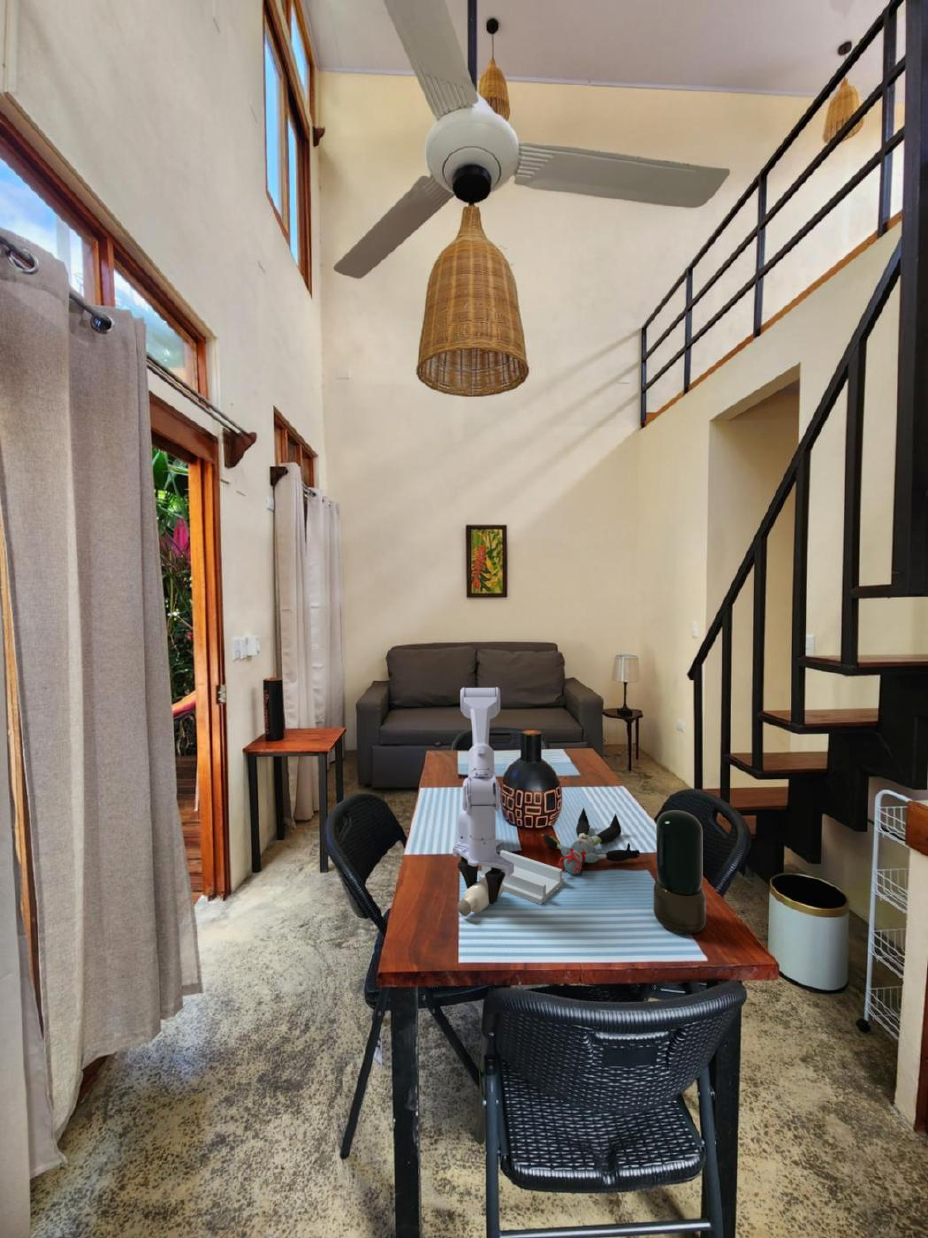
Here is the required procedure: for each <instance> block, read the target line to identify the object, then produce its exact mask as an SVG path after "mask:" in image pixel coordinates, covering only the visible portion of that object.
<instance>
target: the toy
mask: <svg viewBox="0 0 928 1238" xmlns="http://www.w3.org/2000/svg"><path fill="white" fill-rule="evenodd" d="M590 829H591V826H590V822H589V819H588V816H587V813H586V810H585V807H582V810H581V812H580V815H579V817H578V820H577V825H576V827H575V833H576V836H577V840H576V841H574V842H573V843H572V844H571V846H570V847H568V846H563V845H562V844H561V842H560V841H559V840H558V838H556V837H555V836H554V835H552V834H548V833H546V834H541V833H540V835H541V837H542V839H543V841H544V843H545V844H546V845H547V846H549V847H550V848H552V849H558V850H560V853H561V855H562V856H563V857H560V859H559V862H558V864H557V868H559V869H562V872H564V871H565V870H566V872H568V873H569V874H571V875H577V874H579V873H580V876H583V875H582V874H583V868H584V865H585V863H592V864H593V863H596V862H597V861H598V860H601V859H606V860H608V861H610V862H616V863H617V862H625V861H627V860H629V859H632V860H633V859H638V858H640V854H641V852H640V850H639V849H633V850H631V844H630V843H629V842H628V843H627V845H626V849H613V850H607V852H605V853H602V854H601V853H600V854H597V853H595V852H594V851H595V848H596V846H598V845H599V844H600V845H601V844H602V845H604V844H608V843H613V842H614V841H615V840H617V838H619V837H621V834H622V826H621V824H620V821H619V818H618V816H617V813H614V816H613V819H612V821H611V822H610V825H609V826H608V827H606V828H605V829H603V830H602V831H600V832H599V833H597V834H595V835H594V836H593V835H592V836H590V835H589V832H590ZM562 860H563V863H561V862H562Z"/></svg>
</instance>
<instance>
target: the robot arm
mask: <svg viewBox="0 0 928 1238" xmlns="http://www.w3.org/2000/svg"><path fill="white" fill-rule="evenodd" d="M459 696H460V700H459V701H460V712H461V713H462V715H463V716H464V718H467V719H470V721H471V730H472V746H471V748H470V749H469V750H468V753H467V754H468V762H467V763H468V765H467V766H468V769H467V771H468V774H467V776H468V777H466V778H464V780H463V782H462V794H461V795H462V799H461V801H462V804H461V805H462V810H461V811H460V812H459V816H458V821H457V822H458V823H457V826H458V827H457V829H458V830H457V831H458V833H457V836H458V837H457V839H458V841H457V842H456V844H455V846H453V847H452V857H454V858H458V857H460V858H461V859H460V861H459V862H458V863H457V869H458V870H459V871H460V873H461V876H462V877H463V879H464V883H465V887H466V890H467V889H469V888H470V887H471V886H473V885H474V884H475V883H477V882H478V875H479V874H478V873H479V866H481V867H482V866H486V867H490V868H491V870H490V871H488V872H487V873H485V877H486V880H487V885H488V897H489V905H491V906H492V905H494V904H495V903H497V902H498V898H499V897H498V894H499V890H500V887H501V884H502V881H503V879H504V877H505V875H507V876H510V875H511V874H512V873H514V863H512V862H510V861H508V860H506V859H505V858H503V857H502V856H500V853H497V850H496V849H497V847H498V846H500V845H501V844H502V841H501V840H499V839H497V838H496V836H497V835H496V834H497V831H496V830H497V829H496V826H497V825H496V823H497V822H496V819H497V817H496V812H499V810H500V809H501V799H500V798H501V797H500V796H501V793H500V784H499V783H500V782H499V781H498V779H497V776H496V772H495V751H494V749H493V748H492V747H491V746H490V745H489V742H490V741H489V740H490V724H491V723H490V722H491V720H492V719H494V718H496V717H497V716H498V714H499V713H500V712H501V690H500V688H499V687H497V686H495V687H462V688H461V689H460V694H459Z"/></svg>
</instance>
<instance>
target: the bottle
mask: <svg viewBox="0 0 928 1238" xmlns="http://www.w3.org/2000/svg"><path fill="white" fill-rule="evenodd" d="M504 892H505V891H504V884H503V881H502V884H501V887H500V890H499V894H498V898H499V897H500V896H501V895H502V894H503V893H504ZM489 905H490V904H489V897H488V885H487V880H486V877H484V878H482V879H481V880H480V881H479V880H477V883H475V884H474V885H473V886H471V887H470V888H469V889H467V888H466V890H464V893H463V898H462V899H461V900H459V901H458V902H457V906H456V907H457V911H458V912H459V914H460V915H461V916H463V917H468V916H469V915H470V914H471V913H474V914H478V913H481V912H482V911H483V910H484V909H485V908H487V907H488V906H489Z"/></svg>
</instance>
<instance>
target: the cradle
mask: <svg viewBox="0 0 928 1238" xmlns="http://www.w3.org/2000/svg"><path fill="white" fill-rule="evenodd" d="M499 855H500V856H502V857H503V858H505V859H506V860H508V861H510V862H512V863H514V873H512V874H511V875H510V876H507V875H505V877H504V879H503V884H504V891H503V892H505V891H506V892H505V893H508V894H510V895H514V896H516V895H517V896H516V897H518V896H519V898H521V899H523V898H524V900H526V901H528V902H532V903H534V902H535V904H536V903H537V904H536V905H539V904H540V905H539V906H541V904H542V903H543V902H544V903H545V902H546V901H547V900H548V899H549V898H550V897H551V896H553V894H554V893H555V892H556V891H557V890H558V889H559V888H561V887H562V885H564V884H563V883H565V877H564V876H563V868H561V869H559V868H560V867H556V866H552V865H549V864H546V863H543V862H540V861H537V860H534V859H531V858H529V857H526V856H523V855H519V854H516V853H513V852H510V851H506V850H504V849H502V850H500V851H499ZM490 870H491V868H490V867H486V866H481V874H480V875H479V876H478V881H480V880H481V879H482V878H484V877H485V873H487V872H488V871H490ZM557 888H558V889H557ZM550 895H551V896H550ZM549 896H550V897H549ZM548 897H549V898H548ZM546 899H547V900H546ZM544 903H543V904H544ZM543 904H542V905H543Z"/></svg>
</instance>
